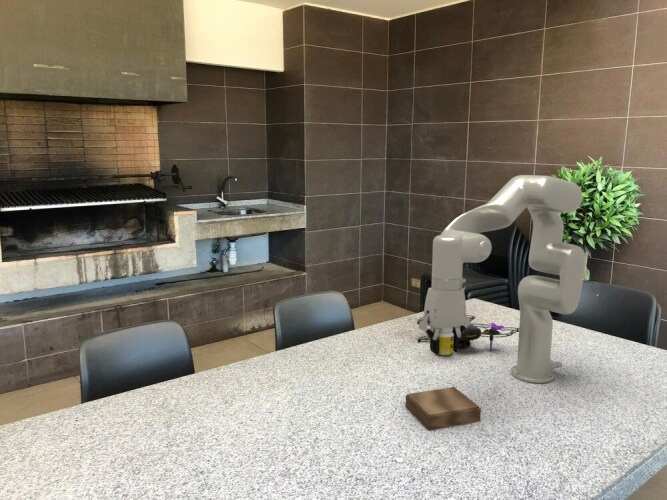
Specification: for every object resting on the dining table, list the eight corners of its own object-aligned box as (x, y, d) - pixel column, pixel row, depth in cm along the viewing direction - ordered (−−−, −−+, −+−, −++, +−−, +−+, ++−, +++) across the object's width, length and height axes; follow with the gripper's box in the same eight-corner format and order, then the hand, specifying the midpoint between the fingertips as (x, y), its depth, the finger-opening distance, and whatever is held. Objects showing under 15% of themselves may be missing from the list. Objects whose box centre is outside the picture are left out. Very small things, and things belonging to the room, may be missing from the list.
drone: (422, 337, 169) (389, 313, 196) (421, 366, 171) (389, 338, 197) (528, 326, 180) (483, 305, 207) (526, 353, 182) (482, 328, 208)
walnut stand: (453, 399, 147) (454, 386, 146) (480, 421, 135) (481, 406, 134) (405, 407, 143) (405, 393, 142) (428, 430, 130) (428, 415, 130)
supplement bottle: (453, 360, 134) (454, 328, 132) (434, 358, 135) (435, 327, 133) (453, 353, 138) (454, 322, 137) (434, 352, 139) (435, 321, 138)
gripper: (467, 278, 139) (464, 343, 142) (409, 282, 134) (408, 350, 137) (483, 284, 132) (480, 353, 135) (423, 289, 127) (421, 360, 130)
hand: (444, 350), depth 136 cm, fingers closed on supplement bottle, 4 cm apart
